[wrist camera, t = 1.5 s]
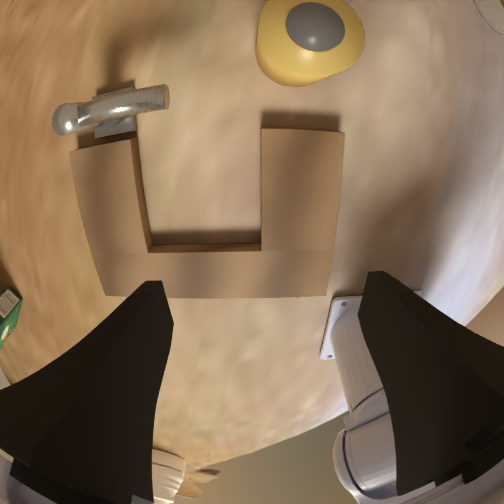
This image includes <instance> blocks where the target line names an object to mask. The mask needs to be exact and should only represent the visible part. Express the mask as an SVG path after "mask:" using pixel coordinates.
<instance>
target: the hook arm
mask: <svg viewBox="0 0 504 504" xmlns="http://www.w3.org/2000/svg"><path fill="white" fill-rule="evenodd" d="M169 103H170V94H169V89H168V86H167V85H166V84H163V85H157V86H151V87H146V88H140V89H136V90H135V87H128V88H124V89H120V90H116V91H112V92H108V93H104V94H101V95H97V96H94V97H92V101H88V102H79V103H65V104H61V105H60V106H58V107H57V108H56V110H55V111H54V114H53V117H52V126H53V129H54V131H55V132H56V133H57V134H58V135H66V134H70V133H74V132H78V131H83V130H87V129H92V128H94V132H95V138H100V137H104V136H109V135H114V134H119V133H125V132H130V131H135V130H137V125H136V114H140V113H145V112H152V111H158V110H165V109H168V107H169Z"/></svg>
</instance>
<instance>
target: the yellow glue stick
mask: <svg viewBox="0 0 504 504" xmlns="http://www.w3.org/2000/svg"><path fill="white" fill-rule="evenodd" d="M364 44H365V34H364V29H363V25H362V23H361V21H360V19H359V17H358V16H357V14H356V13H355V11H354V10H353V9H352V8H351V7H350V6H349V5H348V4H347V3H346V2H344V1H343V0H269V1H268V2H267V3H266V4H265V6H264V7H263V9H262V11H261V14H260V18H259V26H258V35H257V43H256V60H257V63H258V65H259V67H260V69H261V70H262V72H263V73H264V74H265V75H266V76H267V77H268V78H270V79H271V80H273V81H274V82H276V83H278V84H281V85H285V86H290V87H300V86H306V85H309V84H311V83H314V82H316V81H318V80H321V79H323V78H325V77H328V76H330V75H333V74H335V73H338V72H341V71H343V70H345V69H347V68H349V67H350V66H352V65H353V64H354V63H355V62H356V61H357V60H358V58H359V57H360V55H361V53H362V51H363V48H364Z"/></svg>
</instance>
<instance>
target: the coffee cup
mask: <svg viewBox="0 0 504 504" xmlns="http://www.w3.org/2000/svg"><path fill="white" fill-rule="evenodd" d="M474 2H475V4H476V6H477V8H478V10H479V11H480V13H481V15H482V16H483V17H484V19H485V20H486V21H487V23H488V24H489V25H490V26H491V27H492V28H493V29H494V30H495V31H497V32H498V33H501V34H504V0H474Z"/></svg>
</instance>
